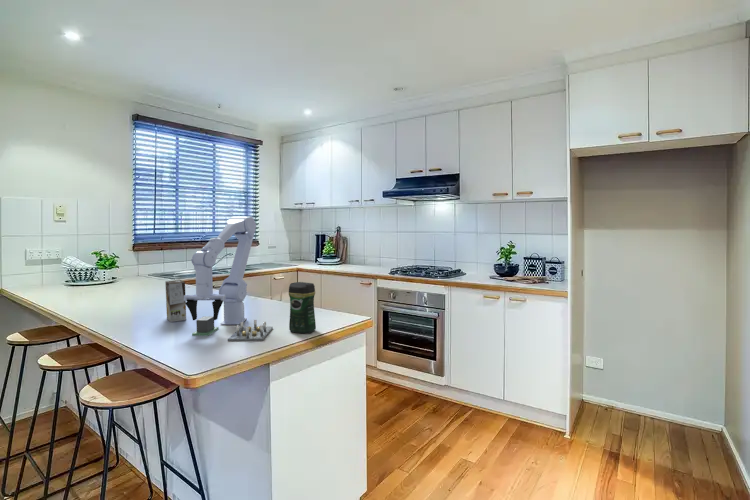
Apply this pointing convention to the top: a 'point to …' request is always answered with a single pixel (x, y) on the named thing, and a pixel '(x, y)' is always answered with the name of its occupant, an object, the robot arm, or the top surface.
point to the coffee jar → (302, 307)
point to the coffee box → (175, 300)
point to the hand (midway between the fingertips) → (205, 319)
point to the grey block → (205, 326)
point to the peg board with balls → (250, 332)
